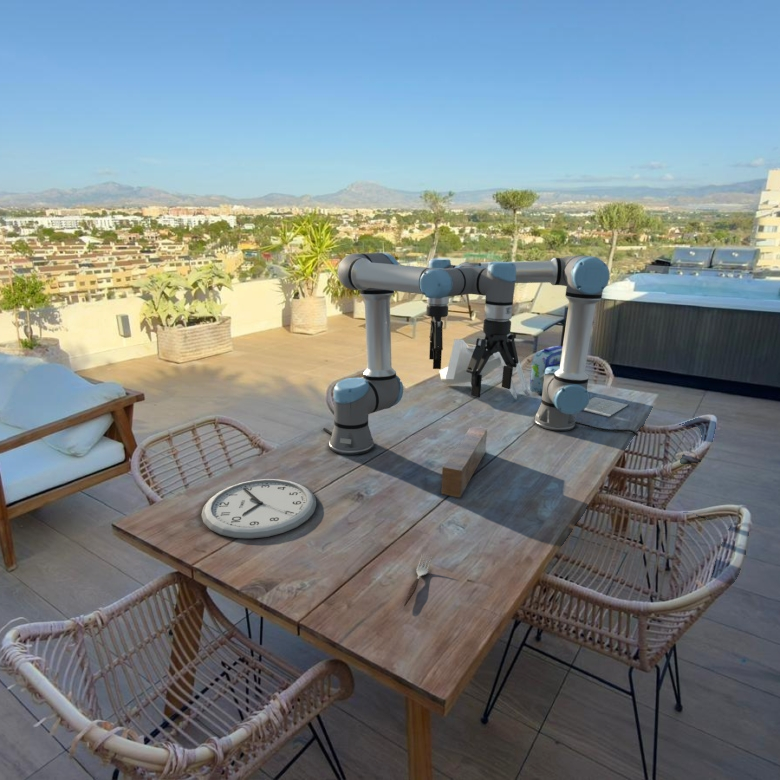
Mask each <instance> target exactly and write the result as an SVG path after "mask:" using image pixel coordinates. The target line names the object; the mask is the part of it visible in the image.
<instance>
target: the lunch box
mask: <svg viewBox="0 0 780 780" xmlns="http://www.w3.org/2000/svg"><path fill="white" fill-rule="evenodd" d="M562 348H563V346H561V345H553V346H549V347H547V348H543V349H541V350H538V351H537V352H535V353H534V355H533V357H532V359H531V366H530V379H529V391H531V392H532V393H537V394H542V392H543V382H544V373H545V369H546V368H547V367H554V366H556V367H560V362H561V355H562Z"/></svg>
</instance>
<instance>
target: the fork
mask: <svg viewBox="0 0 780 780" xmlns="http://www.w3.org/2000/svg"><path fill="white" fill-rule="evenodd" d="M423 555H424V554H421V557H420V560H419V563H418V565H417V567H416V574H417V577H416V578H415V580H414V581H413V582H412V584H411V586H410V587H409V590H408V593H407V596H406V599H405V601H404V604H403V606H404V607H406V605H407V604H408V603H409V601H410V599H411V598H412V596H413V595H414V594H415V593H416V590H417V588H418V583H419V580H420V578H421V577H423V576H426V575H427V574H428V573H429V570H430V566H431V563H432V561H431V560H432V558H430V560H429V557H427V558H426V556H424V558H423ZM422 559H423V561H422ZM425 560H426V561H425ZM428 560H429V562H428Z"/></svg>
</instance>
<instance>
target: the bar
mask: <svg viewBox="0 0 780 780" xmlns="http://www.w3.org/2000/svg"><path fill="white" fill-rule="evenodd" d="M487 435H488V429H487V428H480V427H474V426H470V428H469V429H468V430H467V432H466V433H465V435H464V436H463V437H462V439H461V440H460V442H459V443H458V445H457V446H456V447H455V449H454V450H453V452H452V453H451V454H450V456H449V458H447V460H446V462H445V463H444V465H443V466H442V473H441V489H440V490H441V492H440V494H441V495H446V496H450V497H455V498H459V499H460V498H461V497H462V495H463V493H464V492H465V490H466V488H467V486H468V485H469V482H470V481H471V478H472V477H473V475H474V473H475V472H476V470H477V469H478V466H479V464H480V462H481V461H482V459H483V458H484V455H485V454H486V447H487Z"/></svg>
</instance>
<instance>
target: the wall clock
mask: <svg viewBox="0 0 780 780" xmlns="http://www.w3.org/2000/svg"><path fill="white" fill-rule="evenodd" d="M316 508H317V499H316V496H315V495H314V493H313V492H312V491H311V490H310V489H308V488H307V487H305V486H304V485H302V484H299V483H297V482H294V481H292V480H291V481H290V480H285V479H277V478H264V479H263V478H262V479H253V480H248V481H242V482H239V483H236V484H233V485H230V486H228V487H226V488H223V489H222V490H220V491H218V492H217V493H216V494H214V495H213V496H212V497H210V498H209V499H208V500H207V501H206V503H205V504H204V506H203V507H202V511H201V520H202V522H203V524H204V525H205V526H206V527H207V529H209V530H210V531H212V532H214V533H216V534H218V535H221V536H225V537H230V538H233V539H260V538H269V537H272V536H277V535H280V534H283V533H286V532H289V531H292V530H293V529H296V528H298V527H300V526H301V525H302V524H304V523H306V522H307V521H308V520H309V519H310V518H311V517H312V515H313V514H314V513H315V510H316Z"/></svg>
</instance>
